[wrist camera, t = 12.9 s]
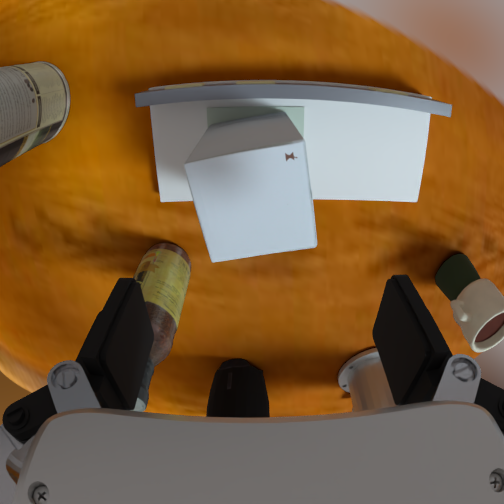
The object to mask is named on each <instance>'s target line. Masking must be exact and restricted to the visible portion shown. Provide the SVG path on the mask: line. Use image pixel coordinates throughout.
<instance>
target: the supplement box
mask: <svg viewBox="0 0 504 504" xmlns="http://www.w3.org/2000/svg"><path fill="white" fill-rule="evenodd" d="M184 168H185V172H186V176H187V180H188V184H189V188H190V191H191V195H192V198H193V202H194V205H195V209H196V212H197V216H198V219H199V222H200V226H201V229H202V232H203V236H204V239H205V242H206V246H207V249H208V252H209V255H210V258H211V261H212V262H219V261H226V260H233V259H239V258H245V257H252V256H258V255H264V254H271V253H278V252H286V251H294V250H301V249H308V248H315V247H316V246H317V236H316V226H315V217H314V207H313V197H312V189H311V182H310V174H309V166H308V158H307V151H306V142H305V140H304V138H303V137H302V135H301V134H300V132H299V131H298V130H297V128H296V127H295V125H294V124H293V122H292V121H291V119H290V118H289V117H288V115H287V114H286V112H285V111H284V112H277V113H271V114H265V115H258V116H252V117H247V118H241V119H235V120H230V121H225V122H220V123H215V124H211V125H210V126H209V127H208V129H207V130H206V132H205V133H204V135H203V136H202V138H201V139H200V141H199V142H198V144H197V145H196V147H195V148H194V150H193V151H192V153H191V154H190V156H189V157H188V159H187V160H186V162H185V163H184Z"/></svg>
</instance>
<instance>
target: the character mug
mask: <svg viewBox="0 0 504 504" xmlns="http://www.w3.org/2000/svg"><path fill="white" fill-rule="evenodd" d="M435 281H436V285H437V286H438V287H439V288H440V289H441V291H442V292H443V293H444V294H445V295H446V296H447V298H448V299H449V300H450V301H451V304H450V305H451V308H452V309H453V317H454V320H455V321H456V323H457V324H458V325H460V326H461V329H462V332H463V335H464V337H465V339H466V340H467V341H468V343H469V345H470V347H471V348H472V350H473V351H475V352H483V351H487V350H488V349H490V348H492V347H494V346H495V345H497V344H498V343H499V342H500V341H502V340H503V339H504V296H503V295H502V294H501V293H500V291H499V290H498V289H497V287H496V286H495V285H494V284H493V283H492V282H491V281H489V280H488V279H481V278H480V276H479V275H478V273H477V271H476V269H475V268H474V266H473V265H472V263H471V261H470V260H469V259H468V257H467V256H466V255H463V254H457V255H454V256H452V257H450V258H449V259H448V260H447V261H445V262H444V264H443V265H442V266H441V267H440V269H439V270H438V272H437V274H436V276H435Z"/></svg>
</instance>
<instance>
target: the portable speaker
mask: <svg viewBox="0 0 504 504" xmlns="http://www.w3.org/2000/svg"><path fill="white" fill-rule="evenodd" d="M206 417H230V418H268V417H270V416H269V400H268V395H267V390H266V385H265V380H264V377H263V370H258V369H257V368H255V367H253V366H251V365H249V363H248V362H247V361H246V360H243V359H233V360H228V361H226V362H223V363H222V365H221V367H220V368H219V370H217V372H216V373H215V376H214V380H213V383H212V387H211V390H210V395H209V400H208V405H207V415H206Z"/></svg>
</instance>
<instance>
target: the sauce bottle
mask: <svg viewBox="0 0 504 504" xmlns="http://www.w3.org/2000/svg"><path fill="white" fill-rule="evenodd" d="M190 272H191V262H190V260H189V257H188V255H187V253H186V252H185V251H184V250H183V249H181V248H180V247H178V246H176V245H174V244H170V243H159V244H156V245H154V246H153V247H151V248H150V249H149V250H148V251H147V253H146V254H145V255H144V256H143V258H142V260H141V262H140V264H139V266H138V268H137V270H136V273H135V275H134V277H133V278H134V279H135V280H136V282H139V283H140V285H141V289H142V293H143V297H144V300H145V304H146V308H147V311H148V315H149V318H150V322H151V325H152V328H153V332H154V341H153V345H152V348H151V351H150V355H149V358H148V362H147V365H146V369H145V372H144V376H143V379H142V383H141V387H140V390H139V394H138V398H137V402H136V405H135V408H134V410H130V411H138V412H142V411H144V410H145V409H146V406H147V403H148V399H149V393H148V389H149V385H150V381H151V377H152V375H153V373H154V367H155V366H156V365H158V364H159V363H160V362H161V361H163V360H164V359H165V358H166V357H167V356H168V354H169V353H170V350H171V348H172V345H173V338H174V334H175V333H176V331H177V327H178V323H179V319H180V315H181V311H182V307H183V303H184V299H185V295H186V291H187V287H188V283H189V279H190Z"/></svg>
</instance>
